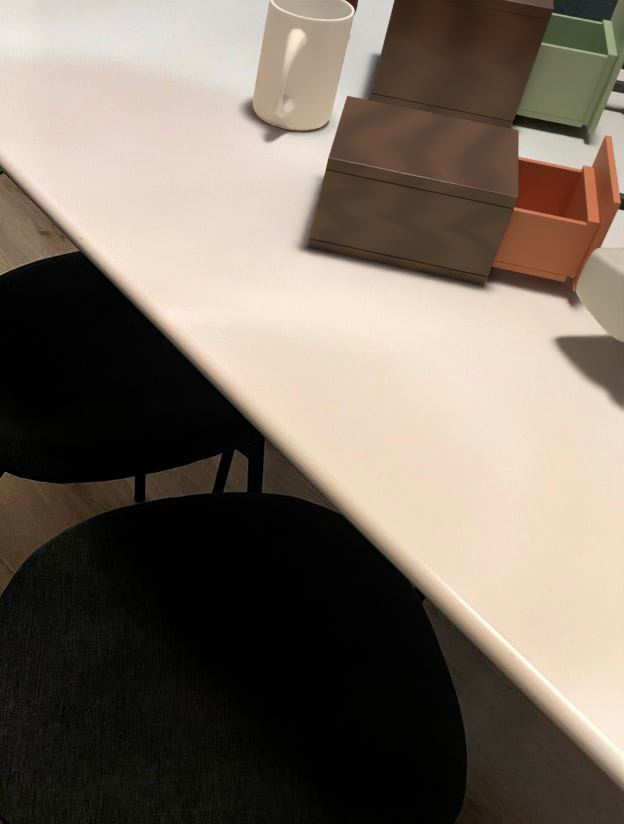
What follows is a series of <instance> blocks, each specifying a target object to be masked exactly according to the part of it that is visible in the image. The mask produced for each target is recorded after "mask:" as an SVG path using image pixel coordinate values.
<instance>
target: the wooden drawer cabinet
mask: <svg viewBox="0 0 624 824" xmlns="http://www.w3.org/2000/svg"><path fill="white" fill-rule="evenodd" d="M552 13H554V0H393V3H392V7H391V11H390V16H389V20H388V24H387V28H386V32H385V35H384V39H383V44H382V47H381V52H380V56H379V59H378V64H377V67H376V72H375V76H374V80H373V83H372V88H371V92H370V94H369V95H370V96H369V98H368V100H371V101H376V102H381V103H386V104H391V105H396V106H401V107H406V108H411V109H416V110H421V111H426V112H431V113H435V114H440V115H445V116H450V117H455V118H460V119H465V120H470V121H475V122H480V123H485V124H490V125H495V126H500V127H505V128H510V129H512V126H513V123H514V121H515V119H516V115H517V114H516V113H517V110H518V107H519V104H520V102H521V99H522V96H523V93H524V90H525V88H526V85H527V82H528V79H529V77H530V74H531V71H532V68H533V65H534V63H535V60H536V57H537V54H538V51H539V49H540V46H541V43H542V40H543V37H544V35H545V32H546V29H547V26H548V24H549V21H550V18H551V15H552Z"/></svg>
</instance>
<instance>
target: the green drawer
mask: <svg viewBox="0 0 624 824" xmlns="http://www.w3.org/2000/svg"><path fill="white" fill-rule="evenodd" d="M623 65H624V0H617V3H616V6H615V7H614V10H613V13H612V15H611V18H610V20H608V19H602V21H596V20H592V19H586V18H580V17H576V16H570V15H565V14H561V13H556V12H552V15H551V18H550V21H549V24H548V26H547V29H546V32H545V35H544V37H543V40H542V43H541V46H540V49H539V51H538V54H537V57H536V60H535V63H534V65H533V68H532V71H531V74H530V77H529V79H528V82H527V85H526V88H525V90H524V93H523V96H522V99H521V102H520V104H519V107H518V110H517V113H516V115H518V116H522V117H526V118H532V119H538V120H542V121H547V122H553V123H558V124H562V125H567V126H572V127H577V128H582V127H583V126H587V132H588V134H589V135H590V134H591V135H594V134H595V132H596V130H597V128H598V125H599V122H600V120H601V118H602V115H603V114H604V110H605V108H606V106H607V103H608V101H609V98H610V97H611V95H612V92H613V93H619V94H623V95H624V80H619V79H618V77H619V75H620V72H621V70H622V68H623Z"/></svg>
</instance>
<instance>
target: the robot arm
mask: <svg viewBox="0 0 624 824" xmlns="http://www.w3.org/2000/svg"><path fill="white" fill-rule="evenodd" d="M575 292H576V295H577V297H578V299H579V301H580V302H581V303H582V305H583V306H584V307H585V309H586V310H587V311H588V313H589V314H590V315H591V317H592V318H594V320H595V321H596V322H597V323H598V325H599V326H600V327H601V328H602V329H603V330H604V331H605V332H606V333H607V334H608V335H610V336H611V337H612V338H614V339H615V340H617V341H619V342H621V343H624V247H601V248H597V249H595V250H594V251H593V252H592V254H591V255H590V257H589V258H588V260H587V262H586V264H585V266H584V268H583V270H582V272H581V275H580V277H579V280H578V283H577V287H576V291H575Z"/></svg>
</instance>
